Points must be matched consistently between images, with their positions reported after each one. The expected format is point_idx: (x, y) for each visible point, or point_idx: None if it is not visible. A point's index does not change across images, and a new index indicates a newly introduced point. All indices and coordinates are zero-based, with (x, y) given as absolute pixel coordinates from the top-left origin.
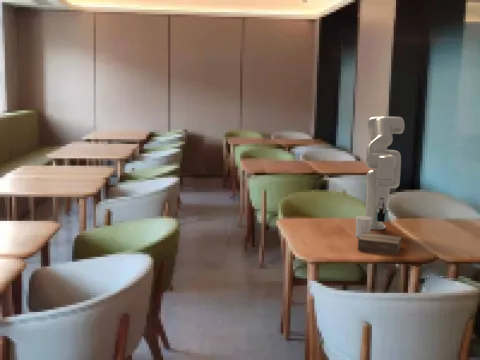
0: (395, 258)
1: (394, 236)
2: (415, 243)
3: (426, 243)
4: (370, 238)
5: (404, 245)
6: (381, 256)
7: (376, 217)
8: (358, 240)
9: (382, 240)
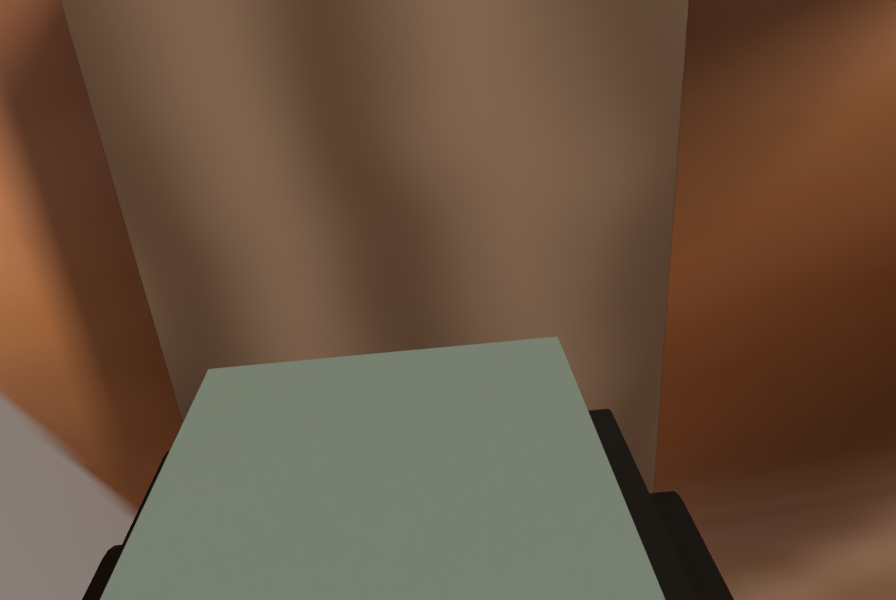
0: (90, 463)
1: (629, 430)
2: (840, 511)
3: (878, 589)
4: (263, 127)
5: (702, 437)
6: (40, 319)
7: (174, 476)
8: None
9: (271, 337)
